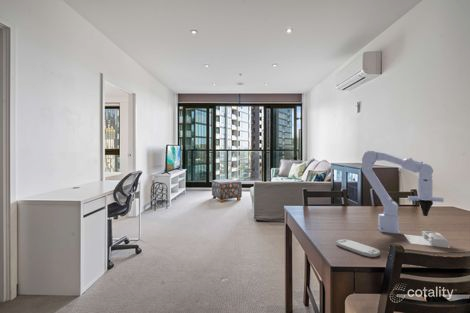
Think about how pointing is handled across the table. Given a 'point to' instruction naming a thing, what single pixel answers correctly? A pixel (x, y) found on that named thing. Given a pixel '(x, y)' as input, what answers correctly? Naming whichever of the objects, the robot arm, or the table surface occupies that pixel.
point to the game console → (358, 248)
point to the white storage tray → (426, 240)
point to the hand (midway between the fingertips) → (425, 215)
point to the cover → (435, 236)
